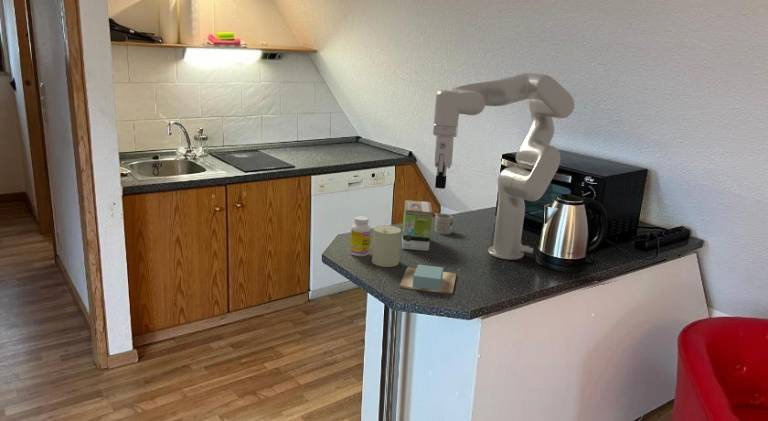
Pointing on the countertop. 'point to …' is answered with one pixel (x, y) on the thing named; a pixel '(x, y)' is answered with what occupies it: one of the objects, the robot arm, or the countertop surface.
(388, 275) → the countertop surface
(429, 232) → the tea box
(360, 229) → the supplement bottle
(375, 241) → the can
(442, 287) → the mat
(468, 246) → the countertop surface
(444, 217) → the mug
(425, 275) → the slab
